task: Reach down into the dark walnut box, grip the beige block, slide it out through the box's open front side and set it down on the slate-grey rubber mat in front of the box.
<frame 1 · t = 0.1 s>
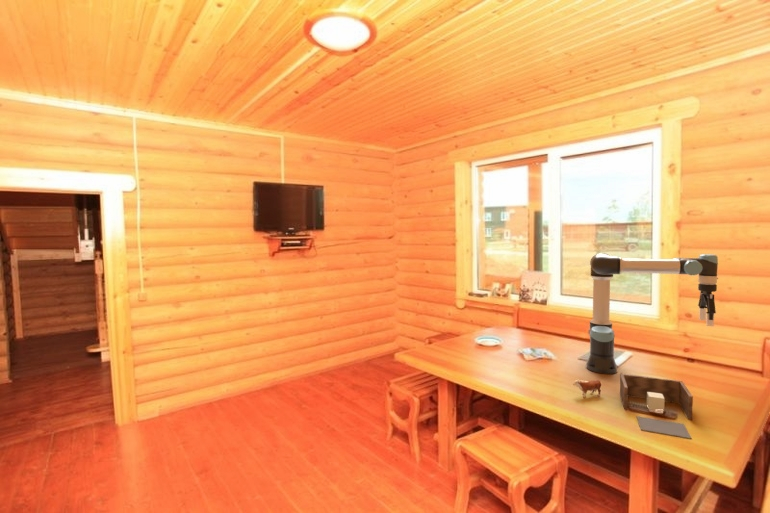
hand: (706, 323, 208), 28 cm above the table, tool pointing down, fingers open, 13 cm apart
grey mat: (662, 427, 155), on the table
beige block: (655, 410, 169), on the table
bull figurine: (587, 396, 185), on the table
open box: (653, 406, 173), on the table
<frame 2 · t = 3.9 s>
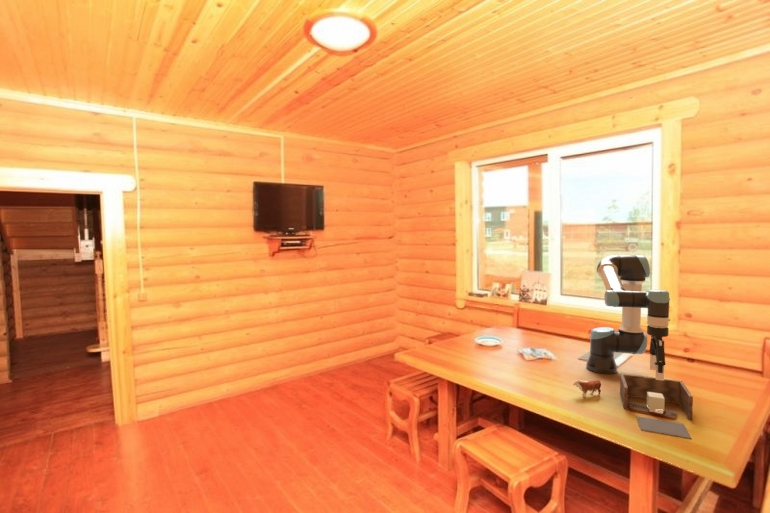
hand: (656, 374, 168), 16 cm above the table, tool pointing down, fingers open, 13 cm apart
nothing on the table moved.
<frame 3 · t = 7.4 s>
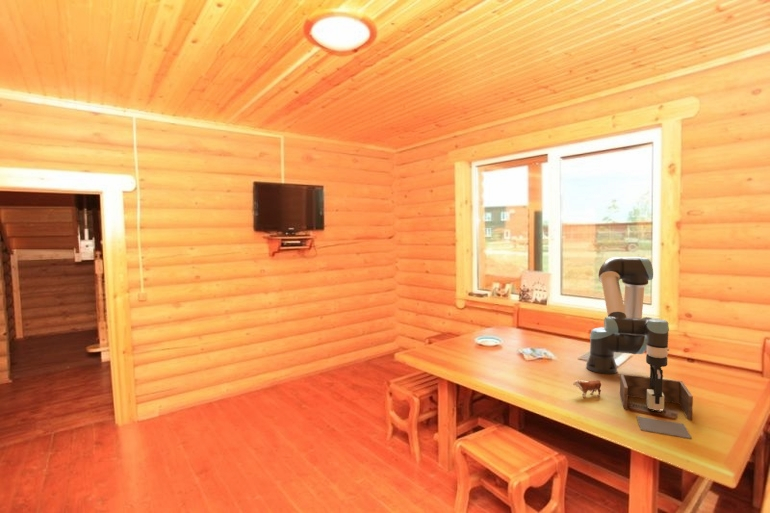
hand: (655, 407, 169), 1 cm above the table, tool pointing down, fingers closed on beige block, 5 cm apart
beige block: (654, 408, 169), point 1 cm above the table, touching gripper
everything else where it was.
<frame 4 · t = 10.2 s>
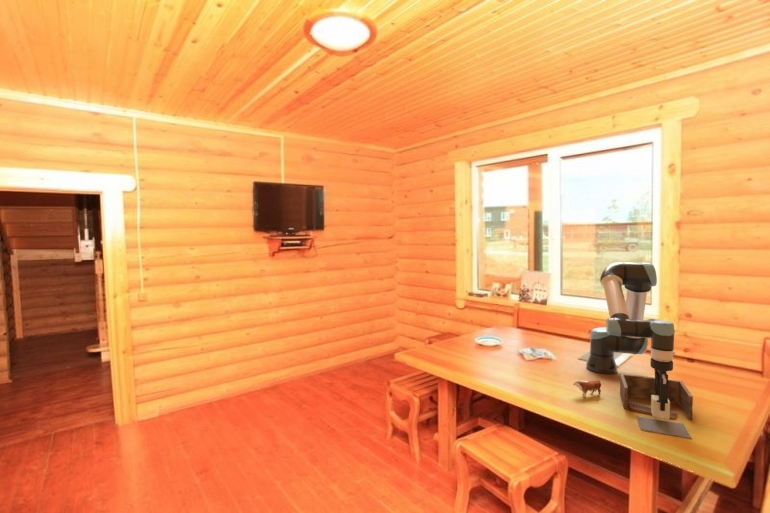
hand: (660, 414, 160), 3 cm above the table, tool pointing down, fingers closed on beige block, 5 cm apart
beige block: (660, 415, 160), point 3 cm above the table, touching gripper
everything else where it was.
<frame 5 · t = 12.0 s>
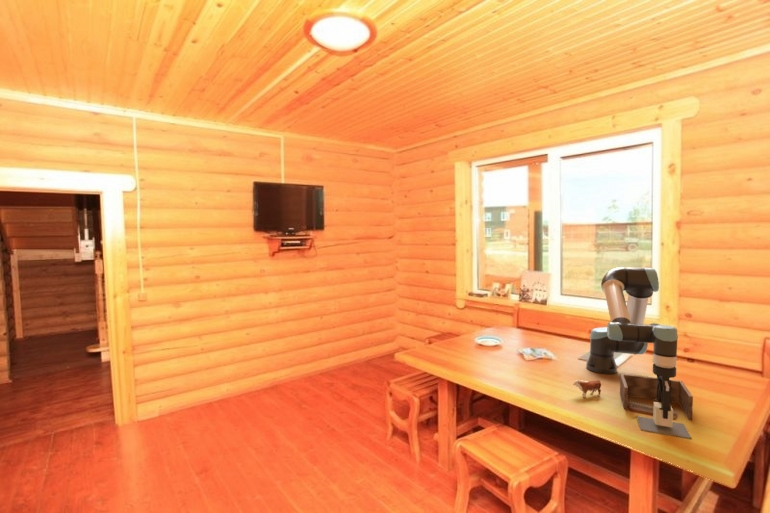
hand: (662, 421, 155), 2 cm above the table, tool pointing down, fingers closed on beige block, 5 cm apart
beige block: (662, 422, 155), point 2 cm above the table, touching gripper
everything else where it was.
when the fingers open (1 cm above the table, at t = 13.0 s): beige block stays where it is, resting on grey mat.
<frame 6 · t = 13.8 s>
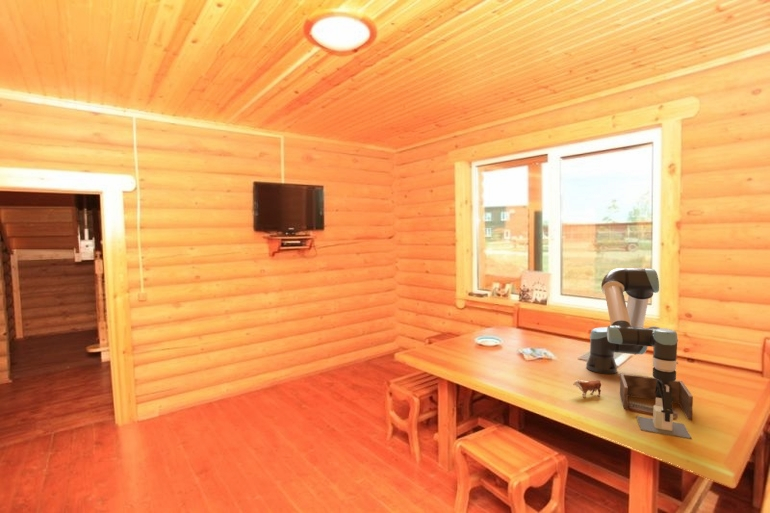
hand: (662, 420, 155), 3 cm above the table, tool pointing down, fingers open, 13 cm apart
beige block: (662, 426, 155), resting on grey mat
everything else where it was.
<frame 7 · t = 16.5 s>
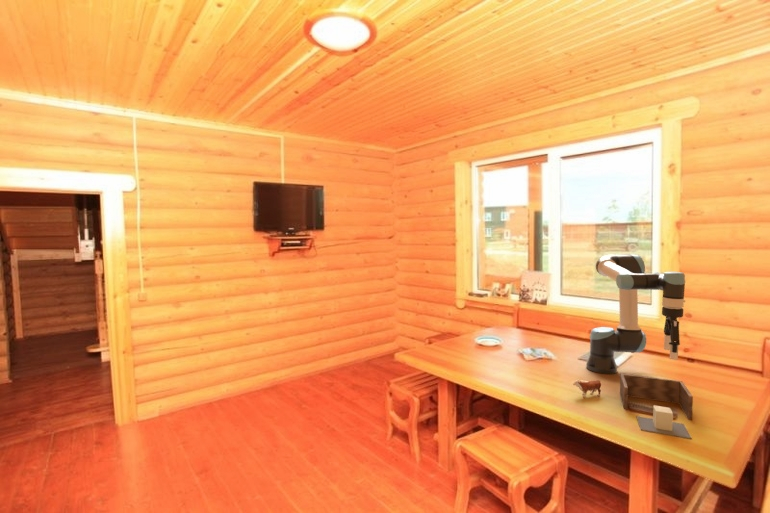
hand: (670, 354, 172), 23 cm above the table, tool pointing down, fingers open, 13 cm apart
nothing on the table moved.
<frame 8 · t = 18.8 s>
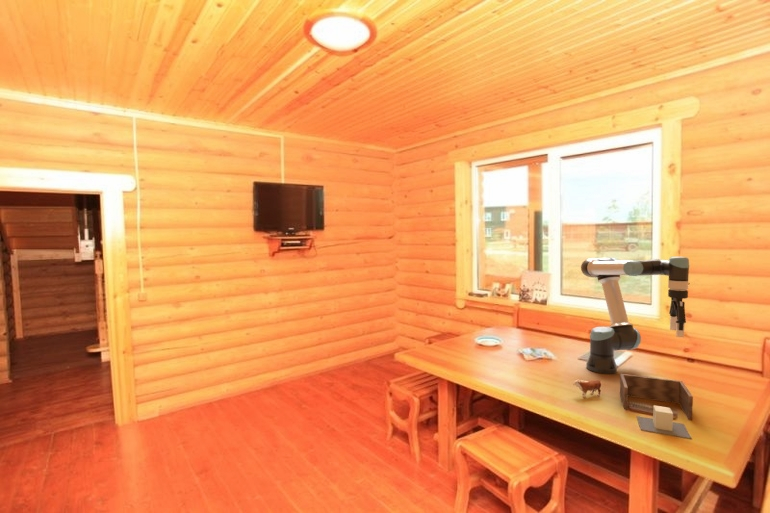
hand: (676, 333, 186), 29 cm above the table, tool pointing down, fingers open, 13 cm apart
nothing on the table moved.
at the end: beige block inside the target area on the grey mat (0.0 cm from its centre), point 0.4 cm above the grey mat's base; beige block tilted 0°; the gripper is holding nothing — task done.
